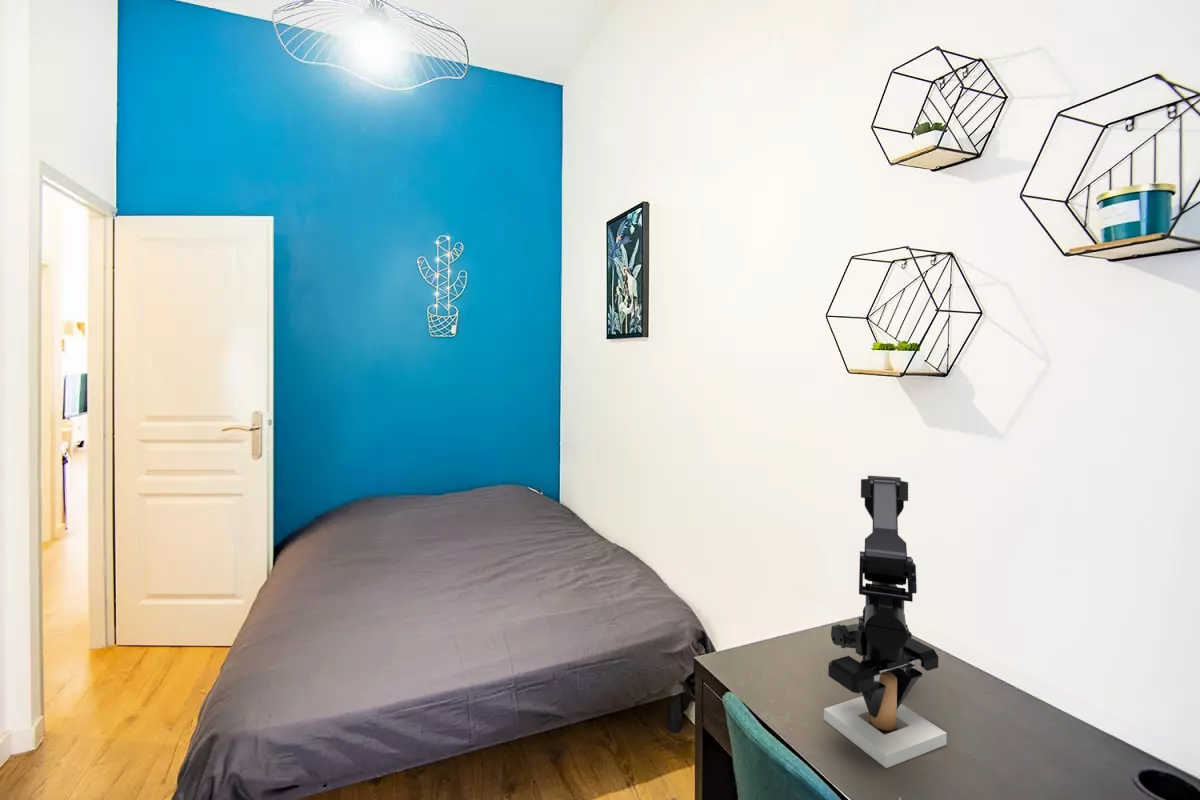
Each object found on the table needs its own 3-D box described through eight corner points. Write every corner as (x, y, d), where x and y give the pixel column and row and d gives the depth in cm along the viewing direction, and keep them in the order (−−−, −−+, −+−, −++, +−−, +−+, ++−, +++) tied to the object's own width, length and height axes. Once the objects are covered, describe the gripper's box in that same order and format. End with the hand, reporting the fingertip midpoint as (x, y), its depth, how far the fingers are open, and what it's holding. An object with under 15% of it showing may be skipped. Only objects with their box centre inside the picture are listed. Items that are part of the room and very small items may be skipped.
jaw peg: (882, 712, 100) (882, 668, 99) (902, 726, 96) (902, 680, 96) (864, 719, 99) (864, 673, 98) (883, 733, 95) (884, 686, 94)
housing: (880, 701, 106) (880, 690, 106) (946, 744, 94) (946, 732, 94) (823, 719, 101) (823, 708, 101) (886, 768, 89) (886, 755, 89)
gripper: (885, 593, 107) (884, 675, 108) (804, 613, 100) (804, 700, 101) (941, 618, 97) (939, 708, 98) (855, 642, 90) (854, 739, 91)
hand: (883, 712), depth 97 cm, fingers open, 4 cm apart
